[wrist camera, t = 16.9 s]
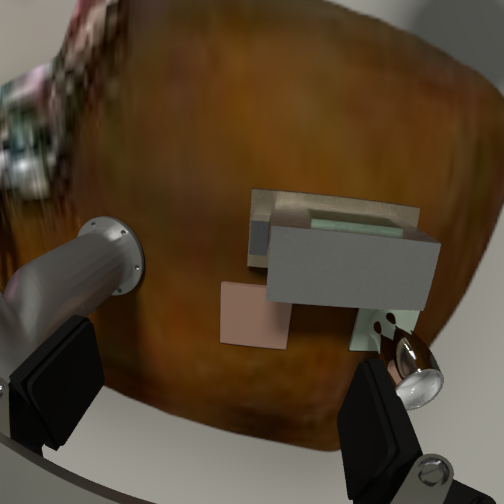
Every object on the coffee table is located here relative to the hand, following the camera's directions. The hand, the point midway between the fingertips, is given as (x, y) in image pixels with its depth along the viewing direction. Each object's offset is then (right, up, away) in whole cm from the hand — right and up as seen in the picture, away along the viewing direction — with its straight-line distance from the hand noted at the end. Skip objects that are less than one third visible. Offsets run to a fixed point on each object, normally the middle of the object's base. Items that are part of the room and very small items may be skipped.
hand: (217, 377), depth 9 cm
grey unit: (+12, +7, +29) cm, 32 cm away
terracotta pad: (+2, -5, +34) cm, 34 cm away
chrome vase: (+21, -6, +32) cm, 39 cm away
